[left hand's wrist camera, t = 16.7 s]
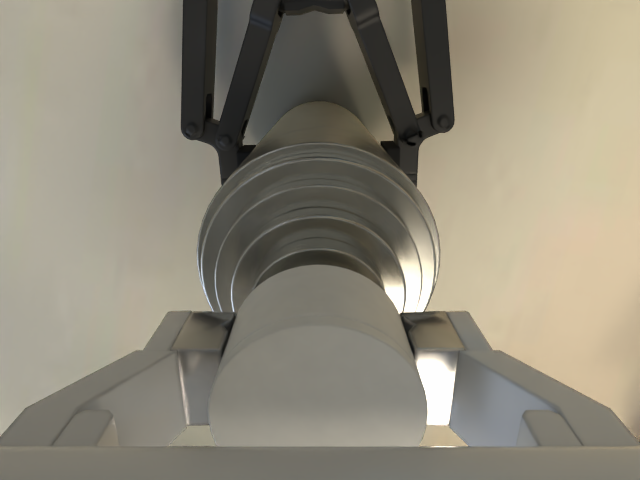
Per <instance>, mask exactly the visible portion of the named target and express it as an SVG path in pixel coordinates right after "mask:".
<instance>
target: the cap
mask: <svg viewBox="0 0 640 480" xmlns="http://www.w3.org/2000/svg"><path fill="white" fill-rule="evenodd" d="M208 418H209V425H210V429H211V433H212V436H213V438H214V441H215V443H216V445H217V446H419V445H420V443H421V441H422V439H423V436H424V433H425V429H426V426H427V418H428V402H427V397H426V392H425V388H424V385H423V382H422V380H421V376H420V373H419V370H418V367H417V364H416V362H415V359H414V356H413V353H412V350H411V347H410V344H409V341H408V338H407V335H406V332H405V329H404V326H403V323H402V320H401V317H400V314H399V312H398V310H397V308H396V306H395V304H394V303H393V301H392V300H391V299H390V297H389V296H388V295H387V293H385V292H384V291H383V290H382V289H381V288H380V287H379V286H378V285H377V284H375V283H374V282H373V281H371V280H370V279H368V278H366V277H365V276H363V275H361V274H359V273H356V272H354V271H351V270H349V269H345V268H341V267H337V266H330V265H318V264H317V265H307V266H300V267H296V268H291V269H288V270H285V271H282V272H280V273H278V274H276V275H274V276H272V277H270V278H268V279H267V280H265V281H264V282H262V283H261V284H260V285H258V286H257V287H256V288H255V289H254V290H253V291H252V292H251V293H250V294H249V295H248V297H247V298H246V299H245V300H244V302H243V304H242V305H241V307H240V309H239V311H238V313H237V316H236V318H235V321H234V324H233V327H232V330H231V333H230V336H229V339H228V342H227V345H226V347H225V350H224V353H223V356H222V359H221V362H220V365H219V368H218V371H217V374H216V377H215V380H214V382H213V385H212V388H211V392H210V397H209V403H208Z"/></svg>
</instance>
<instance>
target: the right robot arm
mask: <svg viewBox="0 0 640 480" xmlns="http://www.w3.org/2000/svg"><path fill="white" fill-rule="evenodd" d="M411 5H412V15H413V25H414V34H415V44H416V54H417V64H418V74H419V84H420V94H421V104H422V113H420V114H417V115H415V113H414V111H413V108H412V105H411V102H410V100H409V97H408V94H407V91H406V89H405V86H404V83H403V80H402V78H401V75H400V72H399V69H398V67H397V64H396V61H395V58H394V56H393V53H392V50H391V47H390V44H389V42H388V39H387V36H386V33H385V31H384V28H383V25H382V22H381V20H380V16H379V10H378V7H377V4H376V1H375V0H254V1H253V4H252V8H251V12H250V19H249V24H248V28H247V31H246V34H245V38H244V41H243V44H242V48H241V51H240V55H239V58H238V61H237V65H236V68H235V71H234V75H233V78H232V82H231V85H230V88H229V92H228V95H227V98H226V102H225V105H224V109H223V112H222V115H221V119H220V121H218V120H215V119H213V107H214V83H215V59H216V36H217V12H218V0H183V39H182V96H181V131H182V133H183V135H184V136H185V137H186V138H187V139H190V140H198V141H202V142H205V143H208V144H210V145H212V146H213V147H214V148H215V149H216V151H217V153H218V156H219V165H220V174H221V183H222V185H223V184H224V183H225V182H226V180H227V179H228V178H229V177H230V176H231V175H232V174H233V172H234V171H235V170H236V169H237V168H238V167H239V165H240V164H241V163H242V162H243V161H244V160H245V159H246V157H247V156H248V155H249V154H250V153H251V152H252V150H253V149H254V148H255V147H256V145H244V146H243V142H242V140H243V139H244V137H245V136H244V134H245V130H246V127H247V124H248V121H249V118H250V115H251V112H252V108H253V105H254V102H255V99H256V96H257V93H258V90H259V86H260V83H261V80H262V77H263V74H264V71H265V68H266V64H267V61H268V58H269V55H270V52H271V49H272V46H273V42H274V39H275V36H276V34H277V32H278V29H279V27H280V24H281V21H282V18H283V14H284V13H286V15H301V14H304V13H307V12H310V11H314V10H316V11H320V12H323V13H327V14H343V12H344V11H345V12H346V14H347V17H348V19H349V22H350V24H351V27H352V29H353V31H354V33H355V35H356V38H357V40H358V43H359V46H360V48H361V51H362V53H363V56H364V59H365V61H366V64H367V66H368V69H369V72H370V74H371V77H372V79H373V82H374V85H375V87H376V90H377V92H378V95H379V98H380V100H381V103H382V105H383V108H384V111H385V113H386V116H387V118H388V121H389V124H390V126H391V129H392V131H393V134H394V142H393V141H381V146H382V147H383V149H384V150H385V151H386V152H387V153H388V154H389V156H390V157H391V158H392V159H393V160H394V161H395V163H396V164H397V165H398V166H399V167H400V169H401V170H402V171H403V172H404V173H405V174H406V176H407V177H408V178H409V179H410V180H411V181H412V183H413V184H414V185H415V186H416V188H417V169H418V150H419V146H420V144H421V143H422V142H423V140H425V139H426V138H428V137H430V136H433V135H435V134H438V133H445V132H448V131H449V130H450V129H452V127H453V125H454V107H453V94H452V80H451V67H450V54H449V41H448V28H447V15H446V2H445V0H411Z"/></svg>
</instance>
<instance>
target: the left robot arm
mask: <svg viewBox="0 0 640 480" xmlns="http://www.w3.org/2000/svg"><path fill="white" fill-rule="evenodd" d="M236 316H237V313H236V312H210V311H193V312H192V311H170V312H168V313H167V314H166V316H165V317H164V319H163V320H162V322H161V323H160V325H159V326H158V328H157V329H156V331H155V333H154V334H153V336H152V337H151V339H150V340H149V342H148V343H147V345H146V346H145V348H144V350H136V351H134V352H132V353H130V354H128V355H126V356H124V357H123V358H121V359H119V360H117V361H115V362H113V363H111V364H109V365H107V366H105V367H103V368H101V369H100V370H98V371H96V372H94V373H92V374H90V375H88V376H86V377H84V378H82V379H80V380H78V381H77V382H75V383H73V384H71V385H69V386H67V387H65V388H63V389H61V390H59V391H57V392H55V393H54V394H52V395H50V396H48V397H46V398H44V399H42V400H40V401H38V402H36V403H34V404H33V405H31V406H29V407H27V408H25V409H24V410H23V412H22V413H21V414H20V415H19V416H18V417H17V418H16V419H15V421H14V422H13V423H12V424H11V425H10V426H9V427H8V428H7V430H6V431H5V432H4V433H3V434H2V435H1V436H0V480H640V442H639V441H638V440H637V439H636V438H635V437H634V435H633V434H632V433H631V432H630V431H629V430H628V428H627V427H626V426H625V425H624V424H623V423H622V422H621V420H620V419H619V418H618V417H617V416H616V415H615V413H614V412H613V411H612V410H611V409H610V408H608V407H606V406H604V405H602V404H600V403H599V402H597V401H595V400H593V399H591V398H589V397H587V396H585V395H583V394H582V393H580V392H578V391H576V390H574V389H572V388H570V387H568V386H566V385H564V384H563V383H561V382H559V381H557V380H555V379H553V378H551V377H549V376H547V375H546V374H544V373H542V372H540V371H538V370H536V369H534V368H532V367H530V366H529V365H527V364H525V363H523V362H521V361H519V360H517V359H515V358H513V357H511V356H510V355H508V354H506V353H504V352H502V351H500V350H493V349H492V348H491V346H490V345H489V343H488V342H487V340H486V339H485V337H484V335H483V334H482V332H481V331H480V329H479V328H478V326H477V324H476V323H475V321H474V320H473V318H472V317H471V315H470V314H469V312H467V311H433V312H401V313H400V317H401V320H402V323H403V326H404V329H405V332H406V335H407V338H408V341H409V344H410V347H411V350H412V353H413V356H414V359H415V362H416V364H417V367H418V370H419V373H420V376H421V380H422V382H423V385H424V388H425V392H426V397H427V402H428V418H427V425H443V426H450V428H451V429H452V430H453V431H454V432H455V433H456V434H457V435H458V436H459V437H460V438H461V439H462V440H463V441H464V442H465V443H466V444H467V445H468V446H168V445H169V444H170V443H171V442H172V441H173V440H174V439H175V438H177V437H178V436H179V435H180V434H181V433H182V432H183V431H184V430H185V429H186V428H187V427H186V426H193V425H209V418H208V403H209V397H210V392H211V388H212V385H213V382H214V380H215V377H216V374H217V371H218V368H219V365H220V362H221V359H222V356H223V353H224V350H225V347H226V345H227V342H228V339H229V336H230V333H231V330H232V327H233V324H234V321H235V318H236Z"/></svg>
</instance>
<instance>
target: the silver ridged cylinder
mask: <svg viewBox="0 0 640 480" xmlns="http://www.w3.org/2000/svg"><path fill="white" fill-rule="evenodd" d="M317 264H318V265H330V266H337V267H341V268H345V269H349V270H351V271H354V272H356V273H359V274H361V275H363V276H365V277H366V278H368V279H370V280H371V281H373V282H374V283H375V284H377V285H378V286H379V287H380V288H381V289H382V290H383V291H384V292H385V293H387V295H388V296H389V297H390V299H391V300H392V301H393V303H394V304H395V306H396V308H397V310H398V312H399V314H400V313H401V312H425V310H426V307H427V305H428V303H429V301H430V298H431V296H432V294H433V291H434V288H435V285H436V282H437V278H438V272H439V267H440V242H439V234H438V231H437V227H436V223H435V220H434V217H433V215H432V212H431V210H430V208H429V206H428V204H427V202H426V201H425V199H424V197H423V196H422V194H421V192H420V191H419V190H418V189H417V188H416V186H415V185H414V184H413V183H412V181H411V180H410V179H409V178H408V177H407V176H406V174H405V173H404V172H403V171H402V170H401V169H400V167H399V166H398V165H397V164H396V163H395V161H394V160H393V159H392V158H391V157H390V156H389V154H388V153H387V152H386V151H385V150H384V149H383V147H382V146H381V145H380V144H379V143H378V141H377V140H376V139H375V138H374V137H373V136H372V134H371V133H370V132H369V131H368V130H367V129H366V127H365V126H364V125H363V124H362V123H361V121H360V120H359V119H358V118H357V117H356V116H355V115H354V114H353V113H352V112H350V111H349V110H347V109H346V108H344V107H342V106H340V105H337V104H335V103H331V102H325V101H313V102H308V103H304V104H301V105H298V106H296V107H294V108H292V109H291V110H289V111H288V112H287V113H285V114H284V115H283V116H282V117H281V118H280V119H279V120H278V122H277V123H276V124H275V125H274V126H273V127H272V129H271V130H270V131H269V132H268V133H267V134H266V135H265V137H264V138H263V139H262V140H261V141H260V142H259V144H258V145H257V146H256V147H255V148H254V149H253V150H252V152H251V153H250V154H249V155H248V156H247V157H246V159H245V160H244V161H243V162H242V163H241V164H240V165H239V167H238V168H237V169H236V170H235V171H234V172H233V174H232V175H231V176H230V177H229V178H228V179H227V180H226V182H225V183H224V184H223V185H222V187H221V188H220V189H219V190H218V192H217V193H216V194H215V196H214V198H213V199H212V201H211V203H210V204H209V206H208V208H207V211H206V213H205V215H204V218H203V220H202V224H201V228H200V231H199V236H198V245H197V265H198V271H199V276H200V281H201V284H202V287H203V290H204V293H205V295H206V297H207V300H208V303H209V305H210V307H211V309H212V311H213V312H236V313H238V311H239V309H240V307H241V305H242V304H243V302H244V300H245V299H246V298H247V297H248V295H249V294H250V293H251V292H252V291H253V290H254V289H255V288H256V287H257V286H258V285H260V284H261V283H262V282H264V281H265V280H267V279H268V278H270V277H272V276H274V275H276V274H278V273H280V272H282V271H285V270H288V269H291V268H296V267H300V266H307V265H317Z"/></svg>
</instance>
